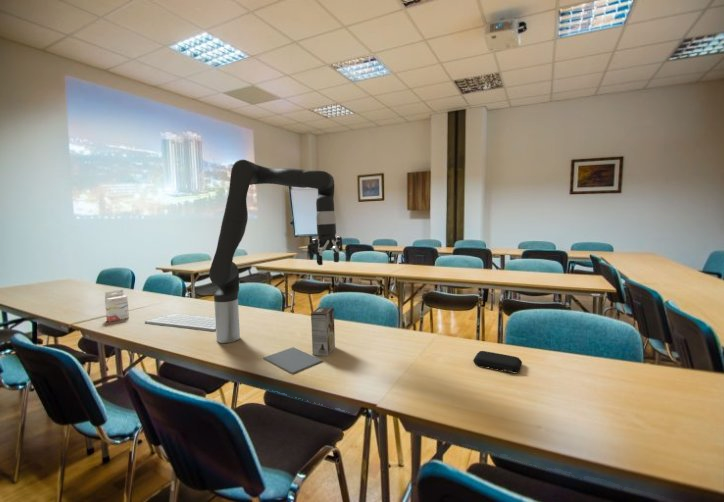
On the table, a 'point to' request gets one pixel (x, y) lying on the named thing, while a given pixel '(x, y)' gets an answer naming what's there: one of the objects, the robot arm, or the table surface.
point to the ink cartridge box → (116, 306)
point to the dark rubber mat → (292, 360)
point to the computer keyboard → (185, 322)
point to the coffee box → (323, 331)
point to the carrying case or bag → (498, 361)
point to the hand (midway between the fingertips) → (328, 263)
